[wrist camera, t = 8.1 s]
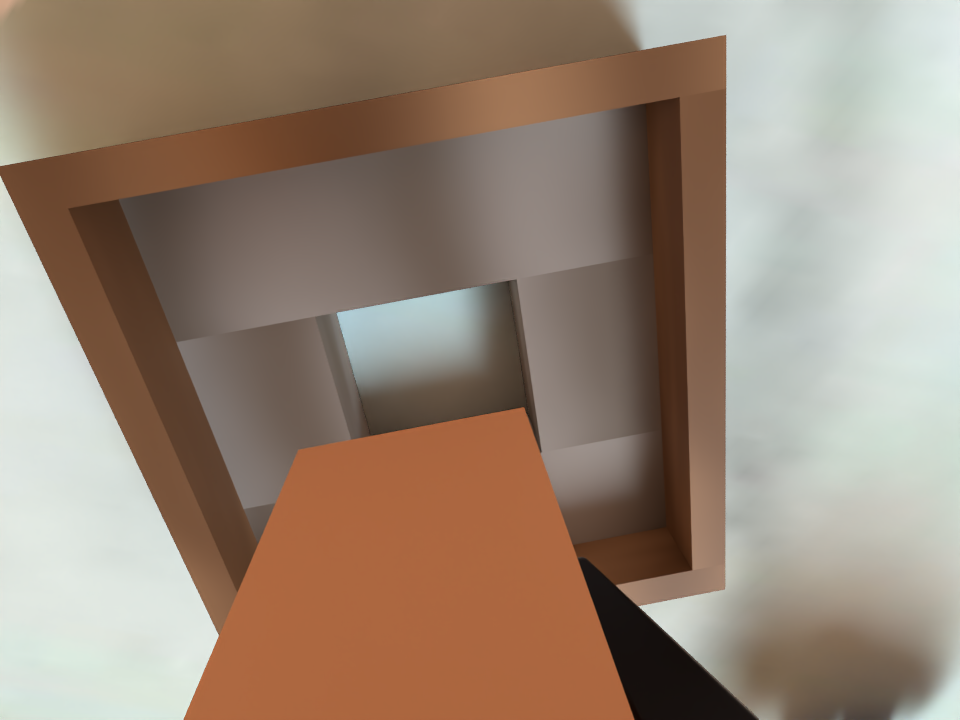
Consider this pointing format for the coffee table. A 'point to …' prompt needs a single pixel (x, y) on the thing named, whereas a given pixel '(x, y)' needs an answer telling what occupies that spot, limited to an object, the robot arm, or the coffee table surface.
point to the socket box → (418, 293)
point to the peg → (415, 590)
